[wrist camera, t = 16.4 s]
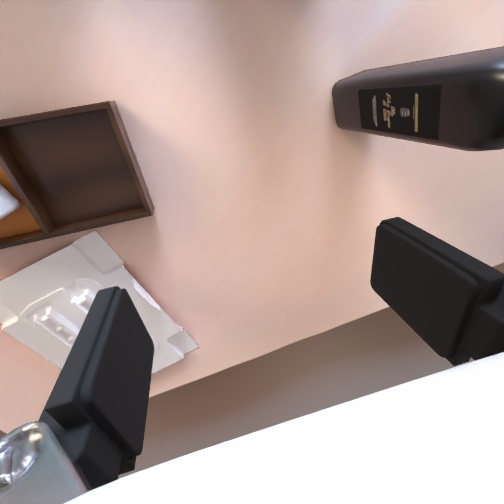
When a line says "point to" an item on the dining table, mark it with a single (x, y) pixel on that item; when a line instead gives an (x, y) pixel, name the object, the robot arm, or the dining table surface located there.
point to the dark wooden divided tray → (69, 173)
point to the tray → (79, 302)
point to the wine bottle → (429, 101)
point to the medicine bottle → (7, 202)
